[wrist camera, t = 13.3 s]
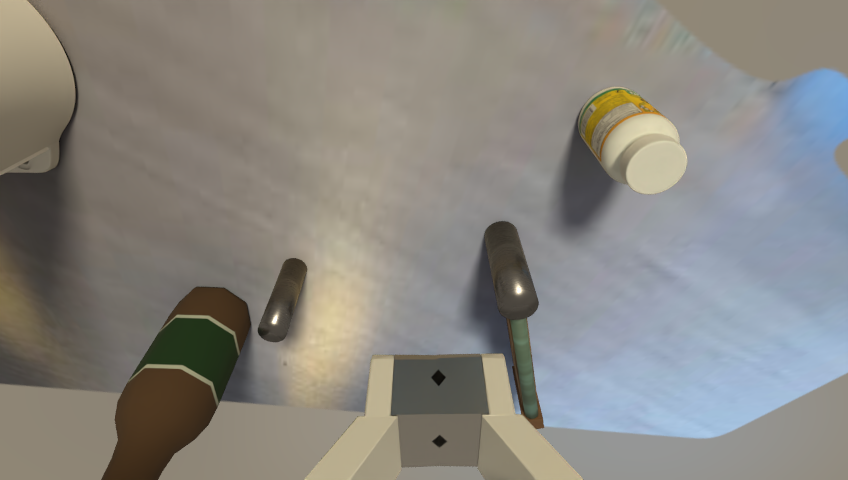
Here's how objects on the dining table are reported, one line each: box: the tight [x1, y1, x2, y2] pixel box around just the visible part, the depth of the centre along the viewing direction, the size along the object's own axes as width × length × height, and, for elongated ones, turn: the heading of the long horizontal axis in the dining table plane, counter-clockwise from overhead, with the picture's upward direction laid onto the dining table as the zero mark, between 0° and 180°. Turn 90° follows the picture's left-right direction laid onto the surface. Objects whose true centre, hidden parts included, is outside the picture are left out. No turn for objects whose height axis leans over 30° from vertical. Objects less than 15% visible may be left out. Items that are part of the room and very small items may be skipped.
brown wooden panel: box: [506, 318, 544, 429], centre depth 48 cm, size 17×2×7 cm, turn 12°
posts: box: [258, 221, 539, 342], centre depth 43 cm, size 24×3×10 cm, turn 101°
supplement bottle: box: [578, 87, 687, 195], centre depth 36 cm, size 5×5×10 cm
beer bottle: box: [101, 287, 251, 480], centre depth 42 cm, size 8×8×24 cm
